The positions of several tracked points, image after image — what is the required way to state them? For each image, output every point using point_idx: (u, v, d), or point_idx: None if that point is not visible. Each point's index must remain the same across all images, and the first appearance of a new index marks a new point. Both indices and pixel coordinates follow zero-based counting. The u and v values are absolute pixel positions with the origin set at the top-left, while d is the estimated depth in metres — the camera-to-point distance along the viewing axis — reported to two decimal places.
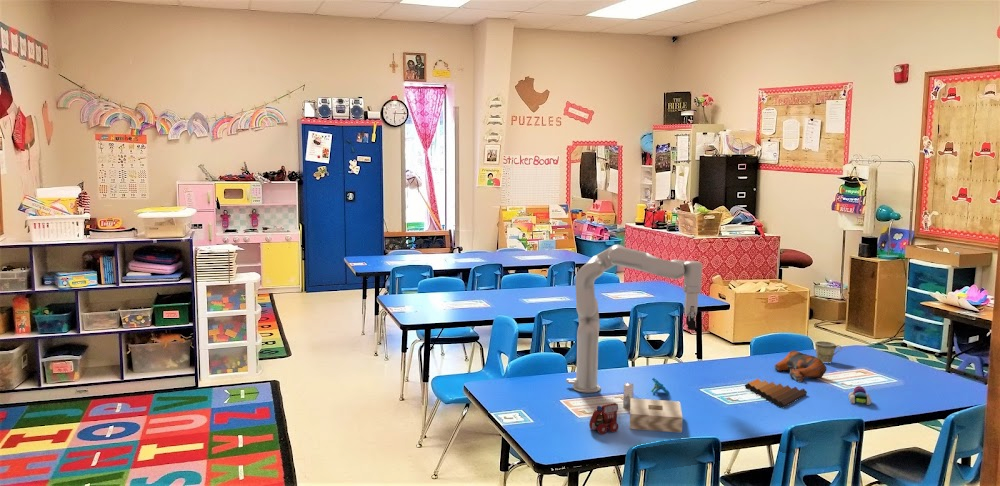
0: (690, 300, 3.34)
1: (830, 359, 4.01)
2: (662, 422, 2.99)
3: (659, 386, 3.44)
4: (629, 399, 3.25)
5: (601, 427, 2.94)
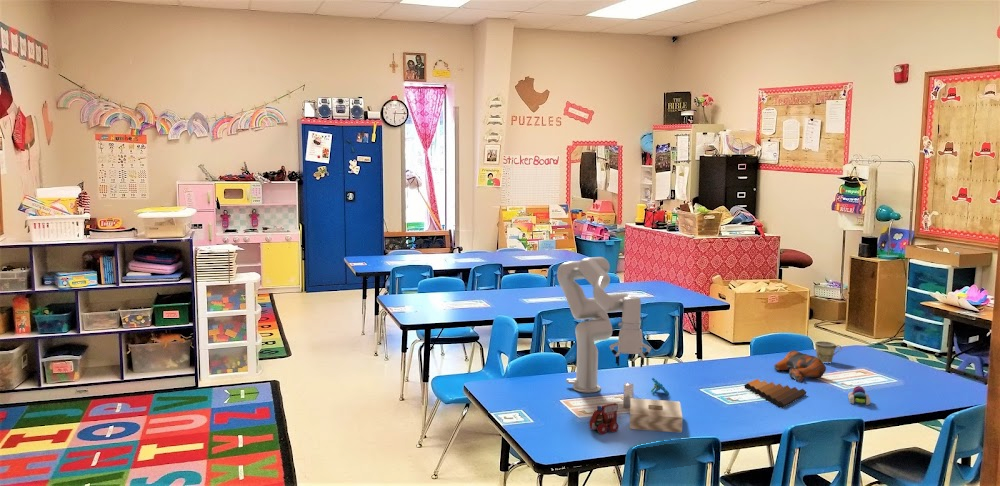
0: (642, 337, 3.22)
1: (830, 359, 4.01)
2: (662, 422, 2.99)
3: (658, 386, 3.44)
4: (629, 399, 3.25)
5: (601, 427, 2.94)
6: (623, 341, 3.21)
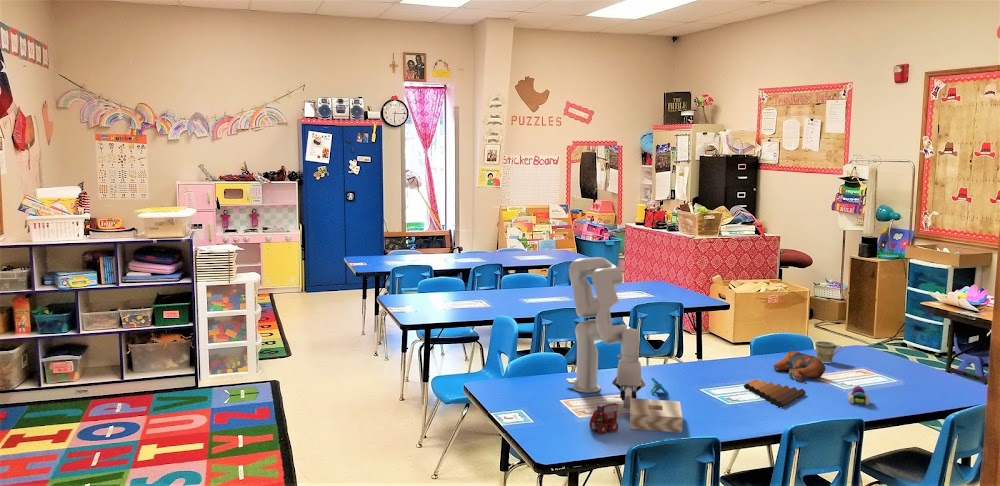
0: None
1: (830, 359, 4.01)
2: (662, 422, 2.99)
3: (658, 386, 3.44)
4: (629, 399, 3.25)
5: (601, 427, 2.94)
6: (622, 373, 3.23)
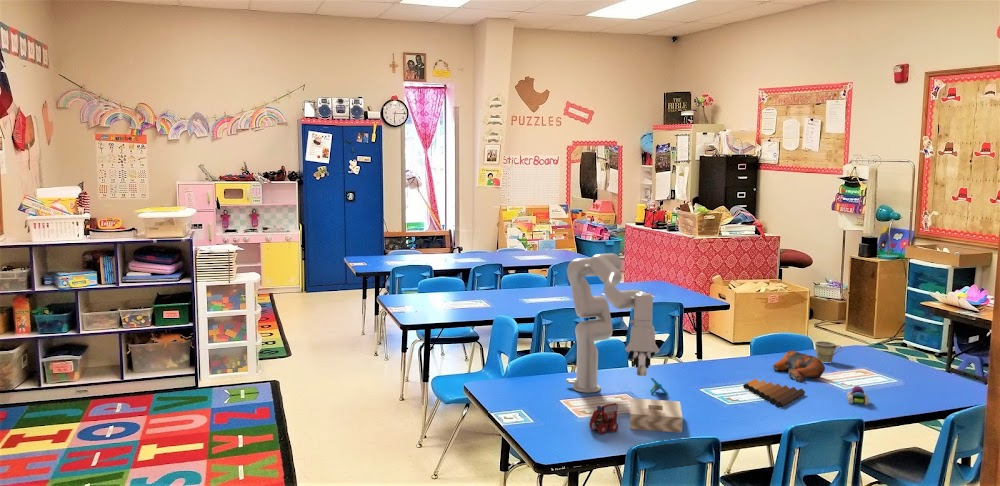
0: (654, 334, 3.14)
1: (830, 359, 4.01)
2: (662, 422, 2.99)
3: (657, 386, 3.44)
4: (643, 366, 3.15)
5: (601, 427, 2.94)
6: (635, 339, 3.13)
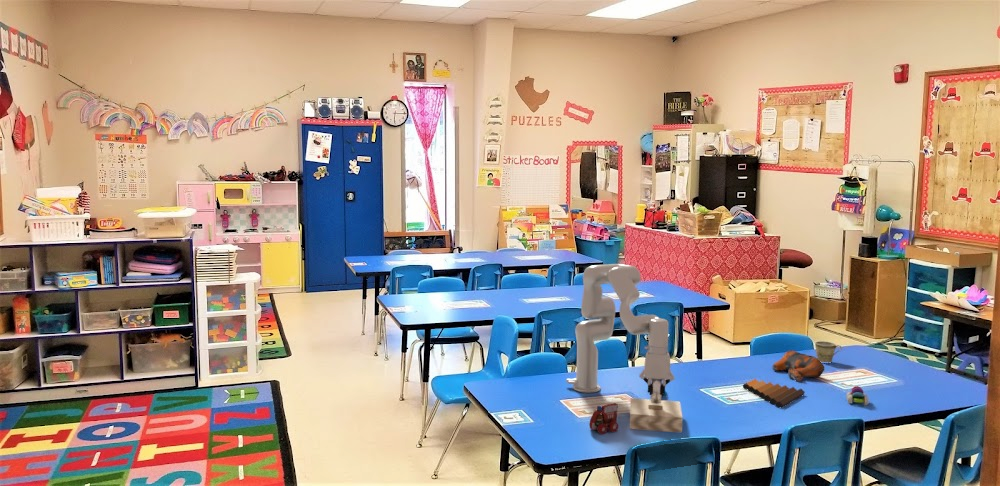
0: None
1: (830, 359, 4.01)
2: (662, 422, 2.99)
3: None
4: (657, 393, 3.06)
5: (601, 427, 2.94)
6: (650, 366, 3.05)
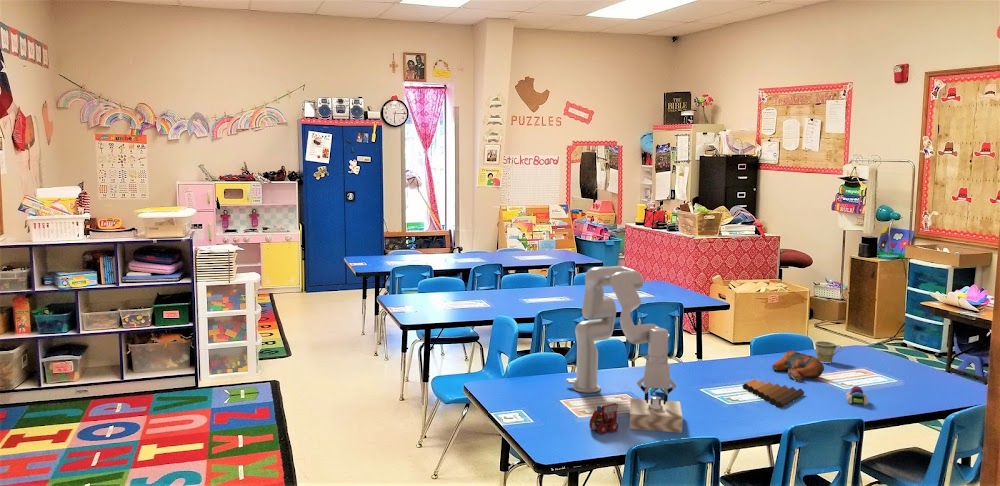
0: (669, 370, 3.05)
1: (830, 359, 4.01)
2: (662, 422, 2.99)
3: None
4: None
5: (601, 427, 2.94)
6: (649, 375, 3.05)
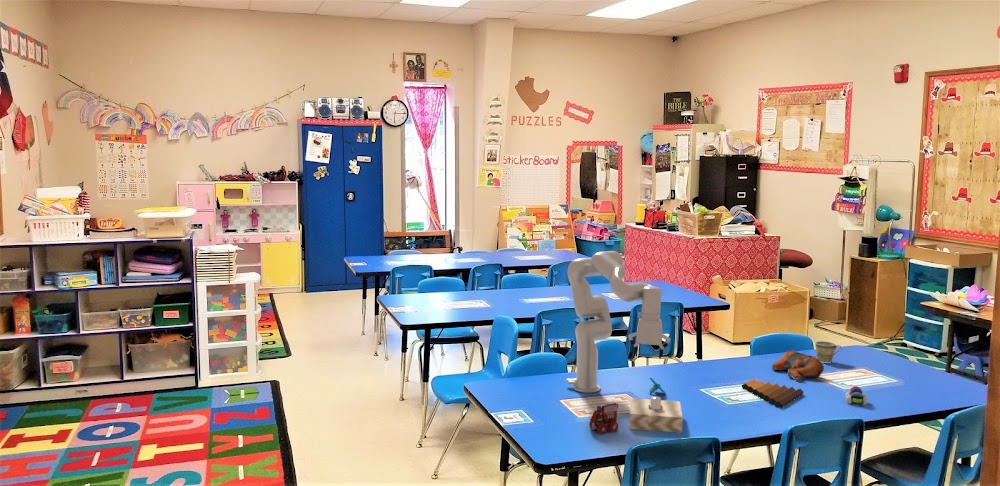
0: None
1: (830, 359, 4.01)
2: (662, 422, 2.99)
3: (656, 386, 3.45)
4: None
5: (601, 427, 2.94)
6: (642, 331, 3.14)
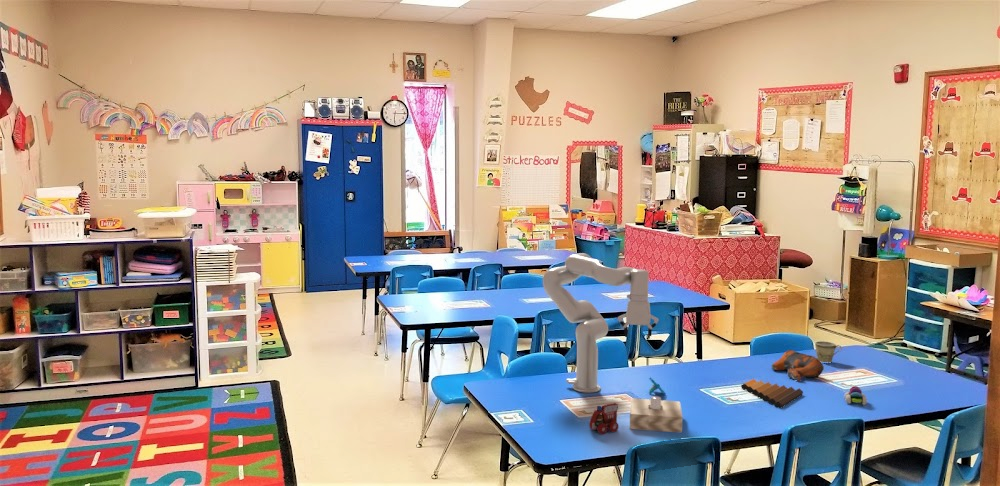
0: None
1: (830, 359, 4.01)
2: (662, 422, 2.99)
3: (655, 386, 3.45)
4: None
5: (601, 427, 2.94)
6: (631, 312, 3.30)
